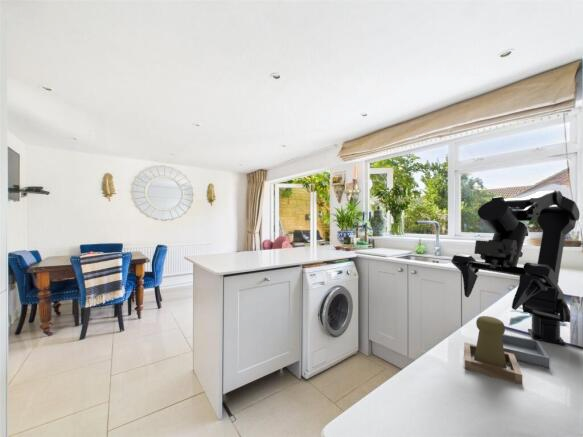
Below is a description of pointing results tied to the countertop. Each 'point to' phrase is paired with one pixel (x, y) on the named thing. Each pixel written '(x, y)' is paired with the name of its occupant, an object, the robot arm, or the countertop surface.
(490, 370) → the walnut collar
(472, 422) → the countertop surface
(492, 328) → the olive flared post
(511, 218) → the robot arm
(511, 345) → the grey square tray
